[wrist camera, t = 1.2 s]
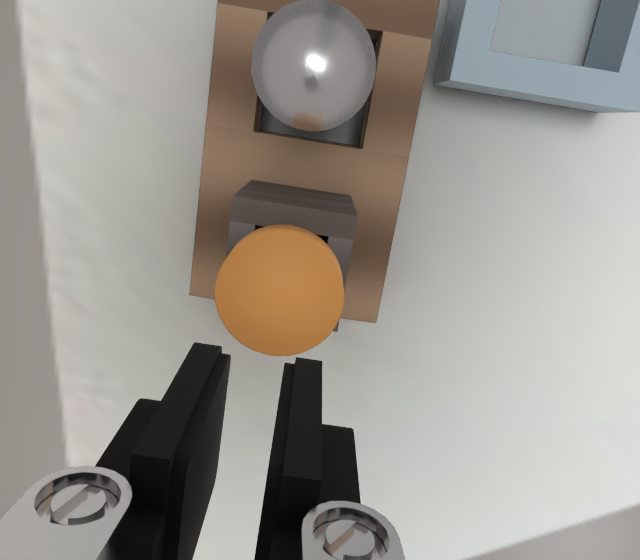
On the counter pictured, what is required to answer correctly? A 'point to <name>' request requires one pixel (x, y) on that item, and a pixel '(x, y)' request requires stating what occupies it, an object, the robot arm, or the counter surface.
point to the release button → (280, 290)
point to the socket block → (311, 152)
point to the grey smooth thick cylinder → (313, 65)
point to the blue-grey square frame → (541, 75)
